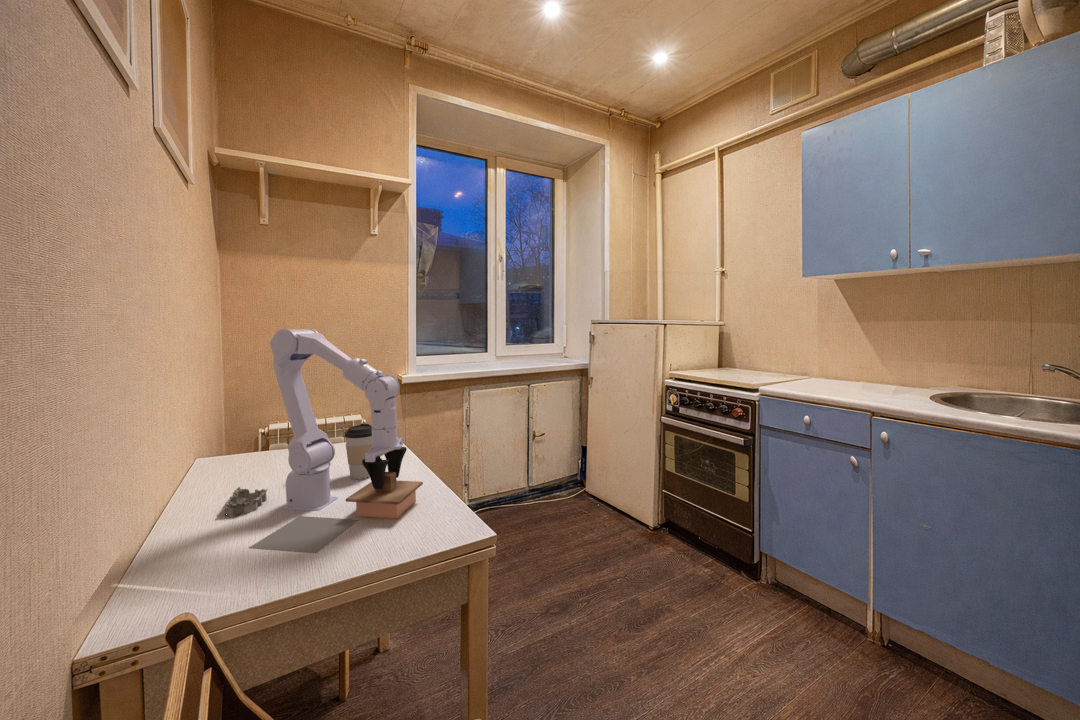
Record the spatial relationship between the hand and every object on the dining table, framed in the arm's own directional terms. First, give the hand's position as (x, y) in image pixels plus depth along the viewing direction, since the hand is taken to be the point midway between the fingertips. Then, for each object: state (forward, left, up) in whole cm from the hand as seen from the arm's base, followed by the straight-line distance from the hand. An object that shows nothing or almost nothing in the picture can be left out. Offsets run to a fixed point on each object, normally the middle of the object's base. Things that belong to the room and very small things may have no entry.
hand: (386, 482), depth 107 cm
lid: (0, 0, -2) cm, 2 cm away
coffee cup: (-20, +23, -7) cm, 31 cm away
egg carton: (-36, -2, -7) cm, 37 cm away
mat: (-11, -14, -7) cm, 19 cm away
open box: (0, 0, -7) cm, 7 cm away
